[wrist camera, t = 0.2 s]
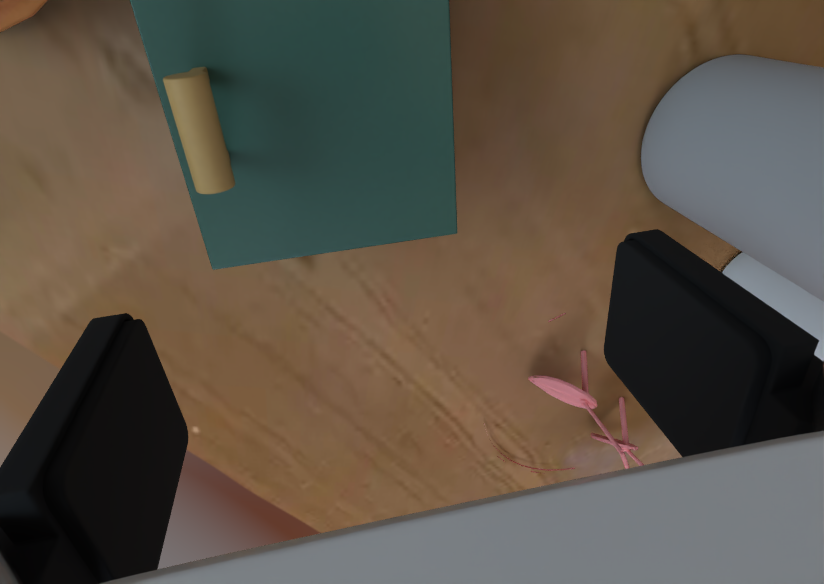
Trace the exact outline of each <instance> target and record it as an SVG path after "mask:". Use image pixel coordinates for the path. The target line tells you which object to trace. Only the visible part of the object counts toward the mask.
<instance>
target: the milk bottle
mask: <svg viewBox="0 0 824 584" xmlns="http://www.w3.org/2000/svg"><path fill="white" fill-rule="evenodd" d="M722 273H723V274H724V275H726V276H727V277H728V278H730V279H731V280H733V281H734V282H736V283H737V284H739V285H740V286H741V287H743V288H744V289H746V290H747V291H749V292H750V293H752V294H753V295H754V296H756V297H757V298H759V299H760V300H762V301H763V302H765V303H766V304H767V305H769V306H770V307H772V308H773V309H775V310H776V311H778V312H779V313H780V314H782V315H783V316H785V317H786V318H788V319H789V320H791V321H792V322H793V323H795V324H796V325H798V326H799V327H801V328H802V329H804V330H805V331H806V332H808V333H809V334H811V335H812V336H814V337H815V338H817V339H818V340H819V342H818V345H817V347H816V350H815V352H814V355H815V356H817V357H818V358H820V359H821V360H822V361H824V301H822V300H820V299H819V298H817V297H815V296H814V295H812V294H810V293H809V292H807V291H806V290H804V289H802V288H801V287H799V286H797V285H796V284H794V283H793V282H791V281H789V280H788V279H786V278H784V277H783V276H781V275H780V274H778V273H776V272H775V271H773V270H771V269H770V268H768V267H767V266H765V265H763V264H762V263H760V262H758V261H757V260H755V259H753V258H752V257H750V256H749V255H747V254H745V253H744V252H742V253H741V254H739V255H738V256H736V257H735V258H734V259H733V260H732V261H731V262H730V263H729V264H728V265H727V266H726V268H725V269H724V270H723V272H722Z"/></svg>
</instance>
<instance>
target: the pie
mask: <svg viewBox="0 0 824 584" xmlns="http://www.w3.org/2000/svg"><path fill="white" fill-rule="evenodd" d="M47 1H48V0H0V32H2V31H4V30H6V29H8V28H10V27H12V26H14V25H16V24H18V23H20V22H22V21H24V20H26V19H28V18H30V17H32V16H34V15H35V14H36V13H37V12H38V11H39V10H40V9H41V7H42V6H43V5H44V4H45V3H46V2H47Z"/></svg>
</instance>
